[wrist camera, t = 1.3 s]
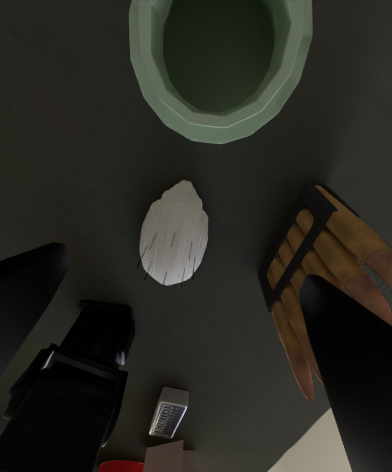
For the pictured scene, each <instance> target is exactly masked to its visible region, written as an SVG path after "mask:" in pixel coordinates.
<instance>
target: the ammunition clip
mask: <svg viewBox="0 0 392 472" xmlns="http://www.w3.org/2000/svg"><path fill="white" fill-rule="evenodd" d="M355 256H356V257H358V258H359V259H360V260H361V261H362V262H364V263H365V264H366V265H367V266H368V267H369V268H370V269H371V270H372V271H373V272H374V273H375V274H376V275H377V276H378V277H379V278H380V279H382V280H383V281H384V282H385V283H386V284H388V285H389V286H390V287H392V251H391V250H390V249H389V248H388V247H387V246H386V245H385V244H384V243H383V242H382V241H381V239H380V238H379V236H378V235H377V234H376V232H375V231H373V230H372V229H371V228H370V227H369V226H368V225H366V224H365V223H364V222H363V221H362V220H360V219H359V215H358V214H357V213H356V212H355V211H354V210H353V209H352V208H351V207H349V206H348V205H347V204H346V203H345V202H344V201H343V200H342V199H341V198H340V197H339V196H338V195H337V194H335V193H334V192H333V191H332V190H331V189H330V188H329V187H328V186H324V185H321V184H317V183H314V182H310V181H309V182H307V183H306V184H305V186H304V188H303V190H302V192H301V194H300V195H299V197H298V199H297V201H296V203H295V205H294V207H293V209H292V211H291V212H290V214H289V216H288V218H287V220H286V222H285V224H284V226H283V228H282V230H281V231H280V233H279V235H278V237H277V239H276V241H275V243H274V245H273V247H272V248H271V250H270V252H269V254H268V256H267V258H266V260H265V262H264V264H263V265H262V267H261V269H260V271H259V273H258V278H259V281H260V285H261V288H262V292H263V295H264V299H265V302H266V306H267V309H268V312H272V314H273V317H274V321H275V324H276V328H277V332H278V335H279V338H280V340H281V342H282V344H283V346H284V349H285V352H286V355H287V357H288V360H289V363H290V366H291V369H292V371H293V374H294V376H295V379H296V381H297V383H298V385H299V387H300V389H301V390H302V392H303V394H304V395H305V397H306V398H307V399H308V400H309V401H310V402H312V401H313V382H312V376H311V372H310V368H309V365H310V367H311V368H312V370H313V372H314V373H315V375H316V376H317V378H318V379H319V381H320V382H321V383H322V384H323V381H322V378H321V375H320V372H319V369H318V366H317V363H316V360H315V357H314V353H313V350H312V347H311V344H310V341H309V338H308V335H307V331H306V326H305V322H304V317H303V312H302V307H301V303H300V298H299V291H300V288H301V286H302V284H303V282H304V279H305V277H306V276H307V275H308V274H315V275H320V276H322V277H323V278H325V279H326V280H327V281H329V282H330V283H332V284H333V285H335V286H336V287H337V288H339V289H340V290H342V291H343V292H344V293H346V292H345V290H344V287H343V285H344V286H345V288H346V289H347V290H348V291H349V292H350V294H351V295H352V296H353V298H354V299H355V300H356V301H357V302H359V303H360V304H361V305H363V306H364V307H366V308H367V309H369V310H370V311H371V312H373V313H374V314H376V315H377V316H378V317H380V318H381V319H383V320H384V321H386V322H387V323H388V324H390V325H391V326H392V312H391V309H390V307H389V305H388V303H387V302H386V300H385V298H384V297H383V295H382V294H381V292H380V291H379V290H378V288H377V287H376V286H375V285H374V284H373V282H372V281H371V280H370V278H369V276H368V275H367V274H366V273H365V271H364V270H363V268H362V266H361V264H360V262H359V260H358V259H357V258H356V257H355ZM342 284H343V285H342ZM271 310H272V311H271ZM308 363H309V364H308ZM323 385H324V384H323Z"/></svg>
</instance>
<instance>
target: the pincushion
mask: <svg viewBox="0 0 392 472" xmlns="http://www.w3.org/2000/svg"><path fill="white" fill-rule="evenodd" d="M202 205H203V204H202V200H201V199H199V196H198V194H196V190H195V188H194V187H193V185H192V183H191V182H190V181H186V180H182V181H181V182H179V184H178V183H177V184H176V185H175V186H174V187H173V188H170V189H169V190H168V191H165V192H164V193H163V195H162V198H161V199H160V200H157V201H156V202H153V203H152V205H151V206H150V209H149V211H148V213H147V215H146V218H145V220H144V222H143V225H142V230H141V237H140V256H141V260H140V262H141V261H142V264H143V267H144V269H145V270H146V272H147V274H149V275H151V277H152V278H153V277H154V279H155V280H157V281H158V282H159V283H161V284H163V285H164V284H165V285H167V286H168V285H172V284H176V283H180V282H182V284H183V281H186V280H187V279H189V278H190V277H191V276H192V275H193V274H194V272H195V271H196V269H197V268H198V266H199V265H200V263H201V261H202V258H203V254H204V252H205V248H206V245H207V240H208V234H207V233H208V215H206V213H205V211H203V209H202ZM140 262H139V264H140ZM139 264H138V266H139ZM138 266H137V268H138ZM147 274H146V276H147ZM145 279H146V277H145ZM192 280H193V276H192ZM144 281H145V280H144ZM162 287H163V286H162ZM181 288H182V285H181Z"/></svg>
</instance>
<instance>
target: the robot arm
mask: <svg viewBox="0 0 392 472" xmlns="http://www.w3.org/2000/svg"><path fill="white" fill-rule="evenodd" d="M69 265H70V260H69V256H68V251H67V247H66V245H65V244H63V243H55V242H52V243H49V244H46V245H44V246H41V247H38V248H35V249H32V250H30V251H27V252H24V253H21V254H18V255H16V256H13V257H10V258H7V259H4V260H2V261H0V376H1V375H2V373H3V372H4V370H5V369H6V367H7V366H8V364H9V363H10V362H11V360H12V359H13V357H14V356H15V354H16V353H17V351H18V350H19V348H20V347H21V345H22V344H23V342H24V341H25V339H26V338H27V336H28V335H29V333H30V332H31V330H32V329H33V327H34V326H35V324H36V323H37V322H38V320H39V319H40V317H41V316H42V314H43V313H44V311H45V310H46V308H47V307H48V305H49V303H50V302H51V300H52V298H53V297H54V295H55V293H56V291H57V289H58V287H59V285H60V283H61V282H62V280H63V278H64V276H65V274H66V272H67V270H68V268H69ZM299 298H300V303H301V307H302V312H303V317H304V322H305V326H306V331H307V335H308V338H309V341H310V344H311V347H312V350H313V353H314V357H315V360H316V363H317V366H318V369H319V372H320V375H321V378H322V381H323V384H324V387H325V390H326V393H327V396H328V399H329V402H330V405H331V408H332V411H333V414H334V418H335V421H336V423H337V427H338V430H339V433H340V436H341V439H342V442H343V445H344V448H345V451H346V454H347V457H348V460H349V463H350V466H351V469H352V472H392V326H391V325H390V324H388V323H387V322H386V321H384V320H383V319H381V318H380V317H378V316H377V315H376V314H374V313H373V312H371V311H370V310H369V309H367V308H366V307H364V306H363V305H361V304H360V303H359V302H357V301H356V300H354V299H353V298H352V297H350V296H349V295H347V294H346V293H344V292H343V291H342V290H340V289H339V288H337V287H336V286H335V285H333V284H332V283H330V282H329V281H327V280H326V279H325V278H323V277H322V276H320V275H315V274H308V275H307V276H306V277H305V279H304V282H303V284H302V286H301V288H300V291H299ZM78 306H79V310H80V315H79V316H78V318H77V319H76V321H75V323H74V324H73V326H72V327H71V329H70V331H69V332H68V334H67V335H66V337H65V339H64V340H63V342H62V343H61V345H60V347H58V346H57V345H56V344H53V343H52V344H51V345H50V346H49V348H47V349H41V350H40V352H39V353H38V355H37V356H36V358H35V359H34V360H33V362H32V363H31V364H30V366H29V367H28V368H27V369H26V371H25V372H24V373H23V374H22V375H21V377H20V378H19V379H18V380H17V381H16V383H15V384H14V385H13V386H12V388H11V389H10V391H9V392H8V394H9V403H8V405H7V407H8V408H7V410H6V412H5V414H4V416H3V418H5V419H9V420H10V421H9V423H8V425H7V426H6V428H5V429H4V431H3V433H2V434H1V436H0V472H92V470H93V467H94V464H95V461H96V458H97V456H98V453H99V450H100V448H101V447H104V446H105V445H106V443H107V442H108V440H109V438H110V436H111V434H112V432H113V430H114V427H115V425H116V422H117V419H118V416H119V413H120V409H121V404H122V400H123V395H124V390H125V385H126V381H127V376H128V372H127V371H121V370H119V369H118V368H119V365H120V364H124V363H125V362H126V359H127V356H128V353H129V350H130V347H131V344H132V341H133V338H134V335H135V324H134V321H133V320H132V309H131V308H130V307H129V306H122V305H115V304H107V303H99V302H92V301H84V300H82V301H80V303H79V304H78Z"/></svg>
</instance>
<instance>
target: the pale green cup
mask: <svg viewBox="0 0 392 472" xmlns="http://www.w3.org/2000/svg"><path fill="white" fill-rule="evenodd" d="M312 34H313V27H312V0H132V2H131V6H130V10H129V38H130V58H131V63H132V66H133V68H134V71H135V74H136V77H137V80H138V83H139V86H140V89H141V91H142V94H143V97H144V99H145V100H146V101H147V102H148V104H149V105H150V106H151V108H152V109H153V110H154V111H155V113H156V114H157V115H158V117H159V118H160V119H161V120H162V122H163V123H164V124H165V125H166V126H168V127H169V128H171V129H173V130H175V131H176V132H178V133H180V134H181V135H183V136H185V137H186V138H188V139H190V140H192V141H198V142H206V143H214V144H223V143H227V142H230V141H234V140H237V139H240V138H244V137H247V136H250V135H252V134H253V133H254V132H255V131H257V130H258V129H259V128H261V127H262V126H263V125H264V124H266V123H267V122H268V121H270V120H271V119H272V118H273V117H275V116H276V115H277V114H278V113H279V111H280V110H281V108H282V107H283V105H284V104H285V102H286V101H287V99H288V98H289V96H290V95H291V93H292V92H293V90H294V89H295V87H296V85H297V84H298V82H299V80H300V78H301V75H302V71H303V68H304V64H305V61H306V57H307V54H308V50H309V47H310V43H311V40H312Z"/></svg>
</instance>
